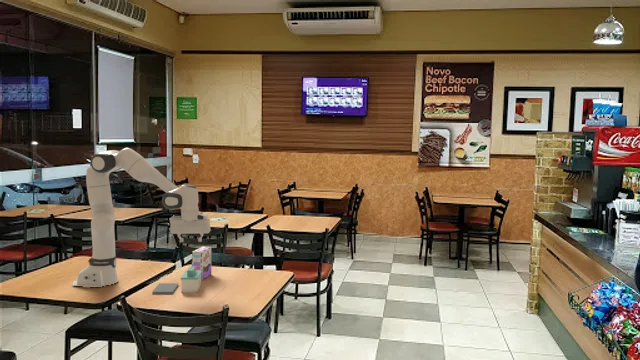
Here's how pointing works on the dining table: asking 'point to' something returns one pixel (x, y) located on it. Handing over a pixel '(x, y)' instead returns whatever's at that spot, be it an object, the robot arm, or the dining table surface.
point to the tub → (190, 285)
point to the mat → (165, 288)
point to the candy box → (202, 261)
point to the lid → (191, 273)
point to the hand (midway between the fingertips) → (190, 241)
